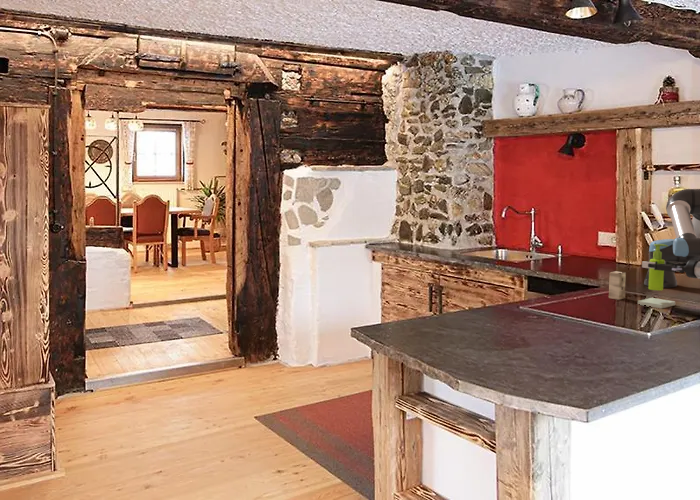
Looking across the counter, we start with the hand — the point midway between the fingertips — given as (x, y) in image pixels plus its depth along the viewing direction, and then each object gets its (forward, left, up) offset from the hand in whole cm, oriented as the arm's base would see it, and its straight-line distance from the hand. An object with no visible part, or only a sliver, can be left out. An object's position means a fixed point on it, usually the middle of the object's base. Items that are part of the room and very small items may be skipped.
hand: (646, 263), depth 295 cm
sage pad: (0, +5, -18) cm, 19 cm away
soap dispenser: (0, +5, -11) cm, 12 cm away
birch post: (0, -14, -18) cm, 23 cm away
